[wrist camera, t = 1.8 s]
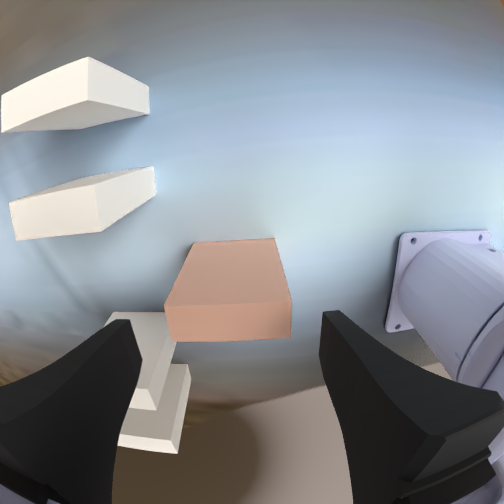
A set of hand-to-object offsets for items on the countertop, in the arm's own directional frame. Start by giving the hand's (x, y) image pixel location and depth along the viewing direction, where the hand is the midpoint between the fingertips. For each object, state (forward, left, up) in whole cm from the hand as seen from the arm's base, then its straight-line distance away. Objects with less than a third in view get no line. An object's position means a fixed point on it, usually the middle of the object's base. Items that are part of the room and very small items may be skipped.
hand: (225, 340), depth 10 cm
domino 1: (+7, -10, -9) cm, 15 cm away
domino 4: (+7, +10, -9) cm, 15 cm away
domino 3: (+7, +5, -9) cm, 12 cm away
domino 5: (0, 0, -9) cm, 9 cm away
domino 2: (+7, -5, -9) cm, 12 cm away
